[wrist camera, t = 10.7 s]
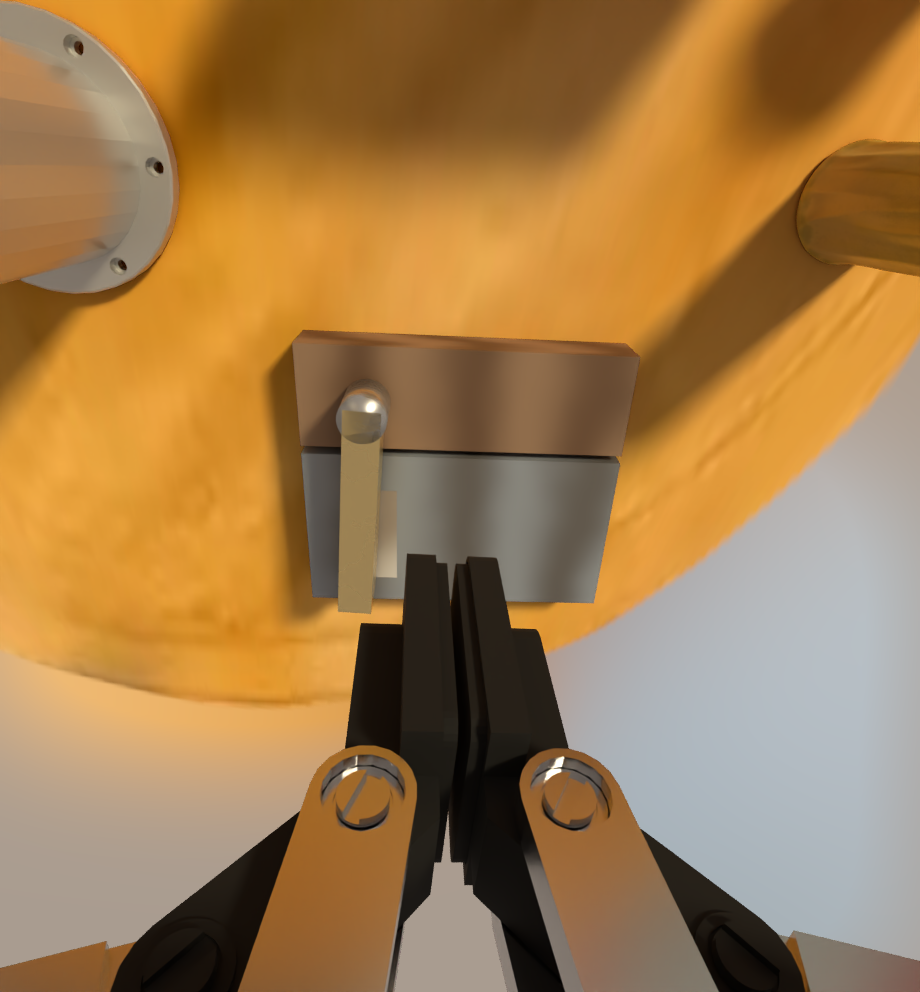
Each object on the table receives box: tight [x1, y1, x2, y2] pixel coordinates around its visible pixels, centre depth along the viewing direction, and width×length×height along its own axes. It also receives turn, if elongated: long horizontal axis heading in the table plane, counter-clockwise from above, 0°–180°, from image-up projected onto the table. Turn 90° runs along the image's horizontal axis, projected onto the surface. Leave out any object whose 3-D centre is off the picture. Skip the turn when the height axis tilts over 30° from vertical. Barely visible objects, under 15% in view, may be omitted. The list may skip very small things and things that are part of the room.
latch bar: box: [336, 379, 391, 614], centre depth 35 cm, size 14×3×3 cm, turn 174°
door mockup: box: [292, 330, 640, 603], centre depth 38 cm, size 19×17×3 cm
